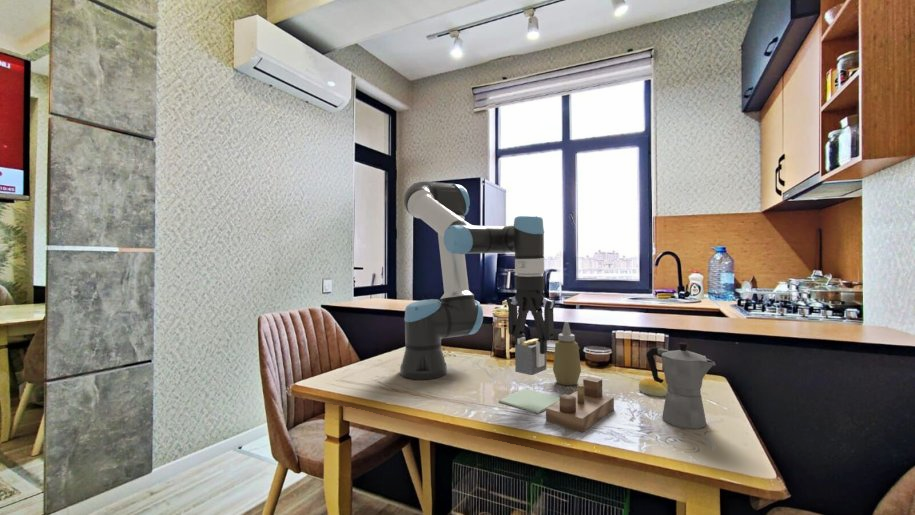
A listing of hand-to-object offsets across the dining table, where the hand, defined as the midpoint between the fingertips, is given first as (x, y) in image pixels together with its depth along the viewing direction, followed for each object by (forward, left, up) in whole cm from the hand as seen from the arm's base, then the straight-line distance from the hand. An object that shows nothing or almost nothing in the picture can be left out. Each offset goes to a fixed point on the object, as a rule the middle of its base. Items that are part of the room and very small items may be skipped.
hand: (531, 363), depth 107 cm
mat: (0, 0, -10) cm, 10 cm away
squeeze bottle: (0, +20, -10) cm, 22 cm away
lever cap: (0, 0, -2) cm, 2 cm away
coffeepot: (+32, +13, -10) cm, 36 cm away
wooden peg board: (+14, 0, -10) cm, 17 cm away
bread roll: (+22, +29, -10) cm, 38 cm away
